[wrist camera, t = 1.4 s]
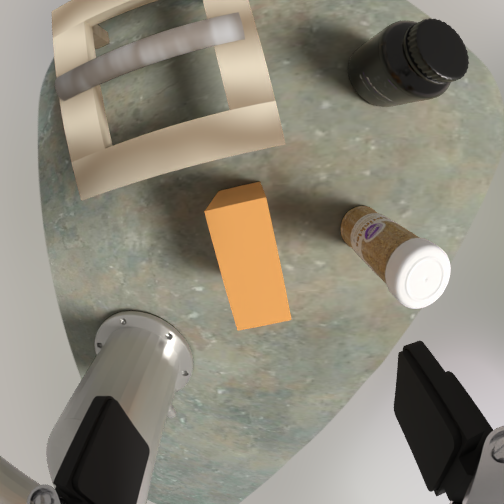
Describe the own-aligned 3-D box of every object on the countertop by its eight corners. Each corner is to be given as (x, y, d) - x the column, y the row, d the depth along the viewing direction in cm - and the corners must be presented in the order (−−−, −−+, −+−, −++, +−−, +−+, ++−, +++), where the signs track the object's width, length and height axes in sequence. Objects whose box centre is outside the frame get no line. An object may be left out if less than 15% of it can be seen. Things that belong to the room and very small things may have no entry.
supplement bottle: (345, 102, 26) (402, 79, 15) (346, 40, 24) (396, -9, 13) (407, 114, 27) (481, 104, 15) (406, 54, 24) (473, 23, 13)
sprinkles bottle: (354, 196, 29) (422, 232, 17) (387, 219, 30) (463, 265, 17) (330, 235, 31) (382, 295, 18) (365, 256, 31) (426, 320, 19)
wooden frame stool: (274, 146, 28) (289, 143, 17) (124, 185, 29) (67, 205, 18) (234, -7, 23) (229, -69, 12) (95, 38, 23) (39, 4, 13)
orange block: (278, 269, 32) (291, 319, 22) (240, 277, 32) (237, 330, 22) (260, 181, 29) (266, 197, 19) (218, 191, 29) (204, 211, 20)
